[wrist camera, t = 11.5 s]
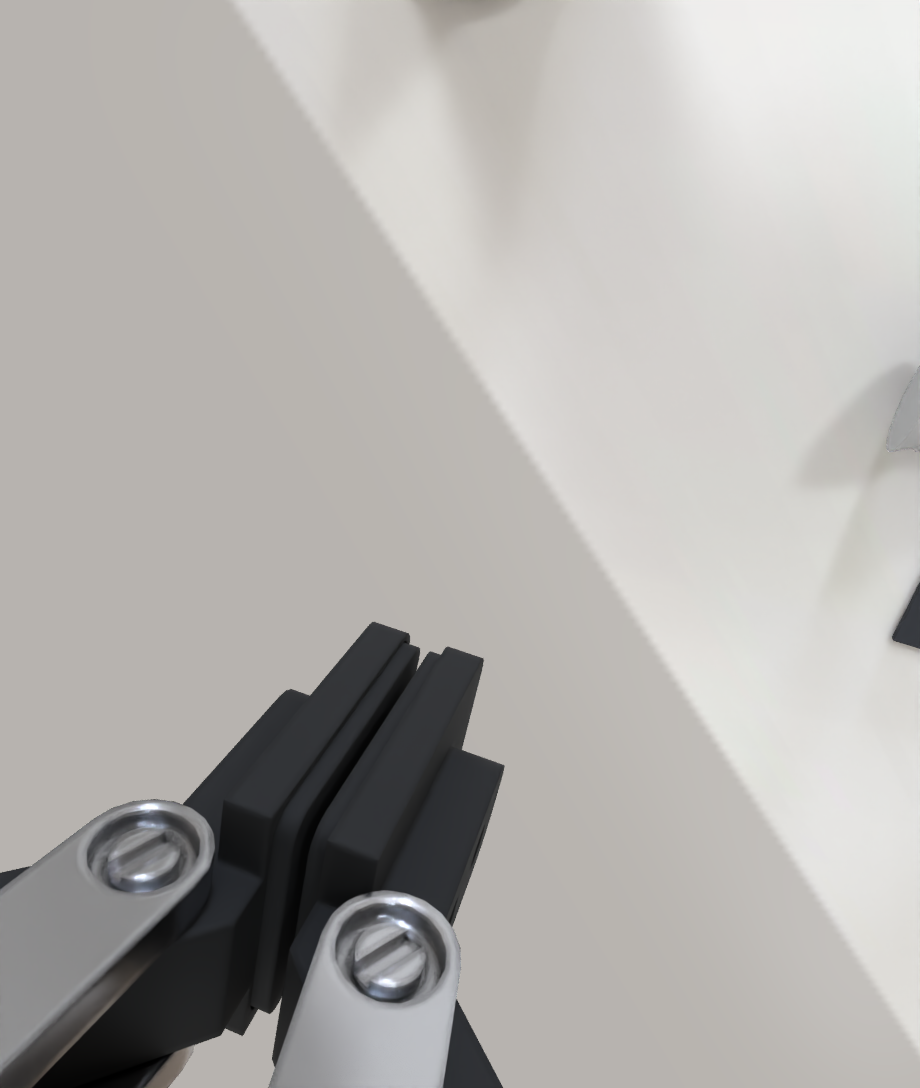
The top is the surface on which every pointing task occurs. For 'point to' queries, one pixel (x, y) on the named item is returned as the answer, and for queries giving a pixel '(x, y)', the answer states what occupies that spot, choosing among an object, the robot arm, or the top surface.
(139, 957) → the robot arm
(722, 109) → the top surface
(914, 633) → the mat
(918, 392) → the chalice
